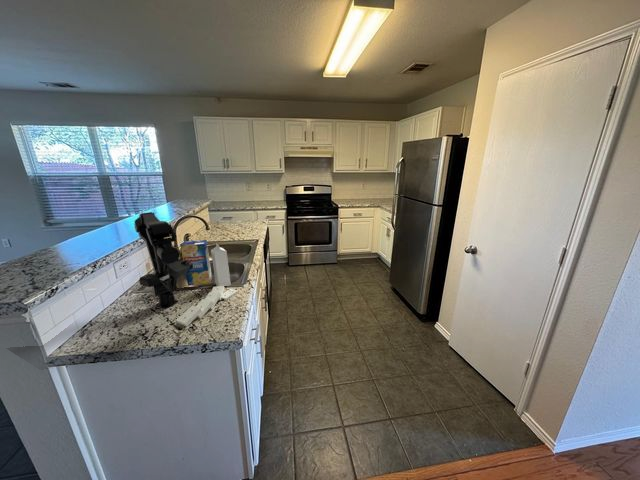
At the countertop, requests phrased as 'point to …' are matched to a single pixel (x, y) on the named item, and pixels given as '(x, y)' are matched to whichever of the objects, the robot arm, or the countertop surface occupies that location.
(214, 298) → the domino
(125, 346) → the countertop surface
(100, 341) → the countertop surface
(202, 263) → the blue cardboard box
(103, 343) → the countertop surface
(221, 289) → the domino
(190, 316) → the domino
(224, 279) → the milk
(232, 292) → the domino
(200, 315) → the domino
